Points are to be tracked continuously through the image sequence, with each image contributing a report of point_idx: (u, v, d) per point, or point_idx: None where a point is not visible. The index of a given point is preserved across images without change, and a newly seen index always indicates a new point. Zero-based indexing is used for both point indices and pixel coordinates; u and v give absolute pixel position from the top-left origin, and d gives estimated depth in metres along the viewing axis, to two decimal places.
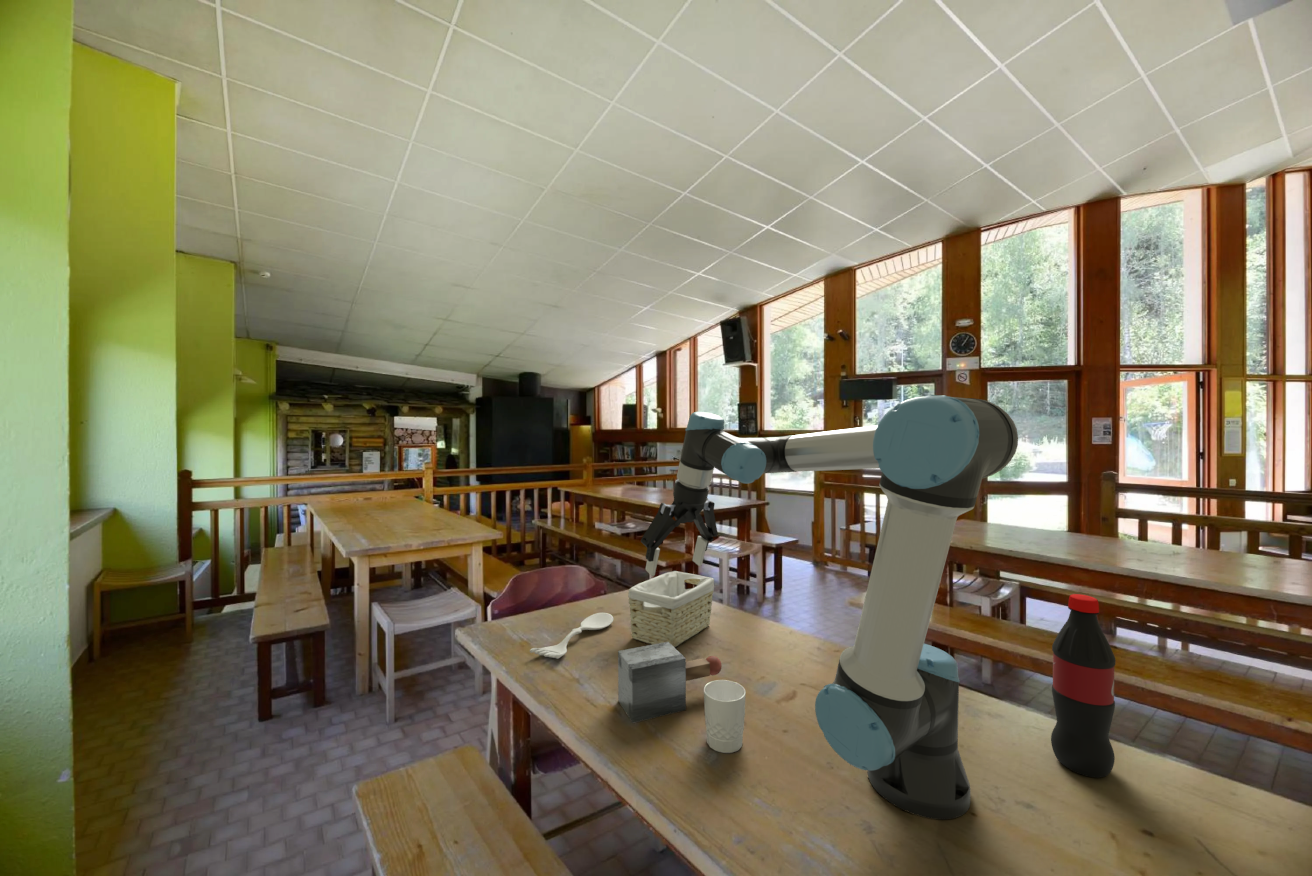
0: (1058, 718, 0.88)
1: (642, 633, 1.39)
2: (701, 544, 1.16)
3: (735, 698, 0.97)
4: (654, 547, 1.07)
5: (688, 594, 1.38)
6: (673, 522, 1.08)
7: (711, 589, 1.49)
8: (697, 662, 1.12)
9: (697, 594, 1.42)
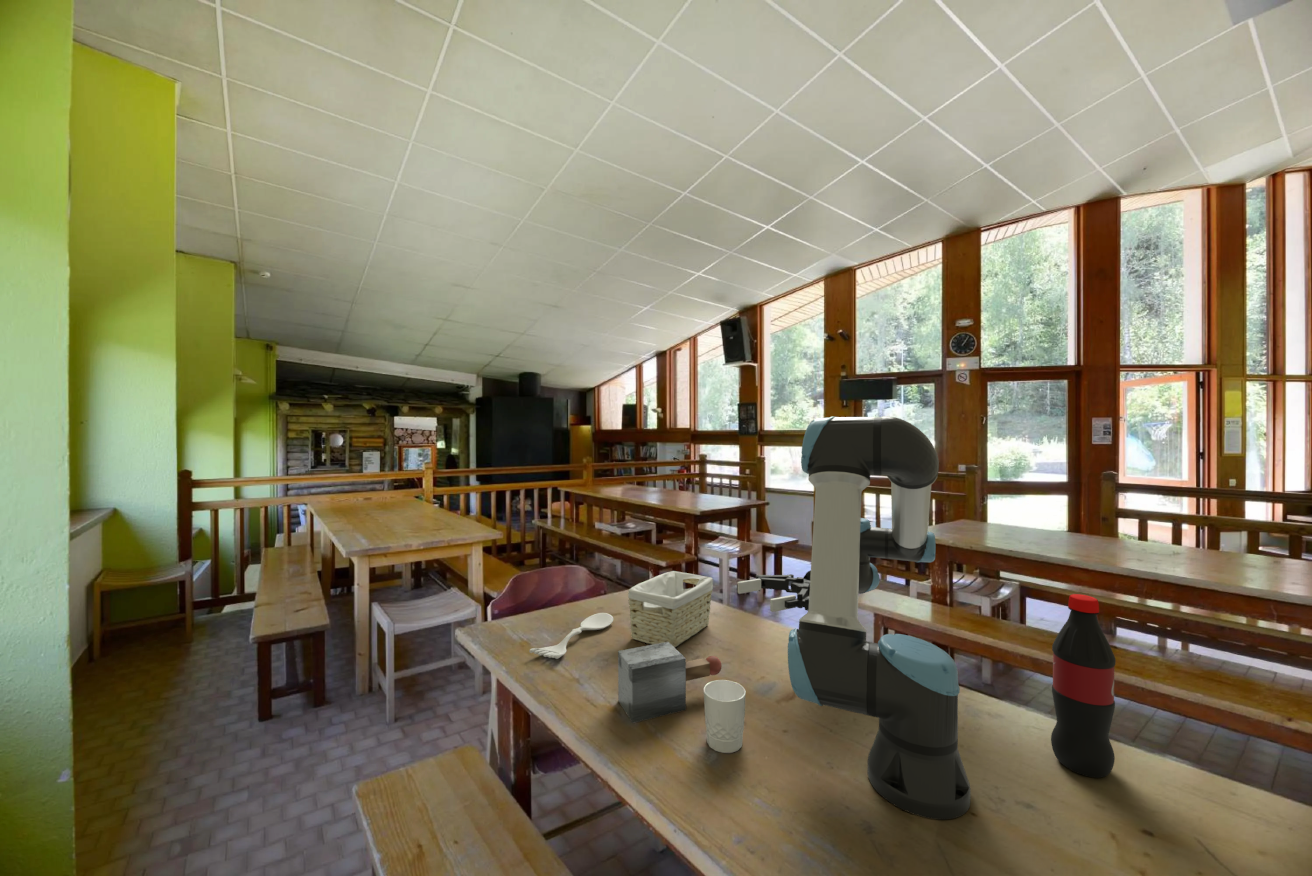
0: (1058, 718, 0.88)
1: (642, 633, 1.39)
2: None
3: (735, 698, 0.97)
4: (759, 577, 1.27)
5: (688, 594, 1.38)
6: None
7: (710, 589, 1.49)
8: (697, 662, 1.12)
9: (697, 594, 1.42)
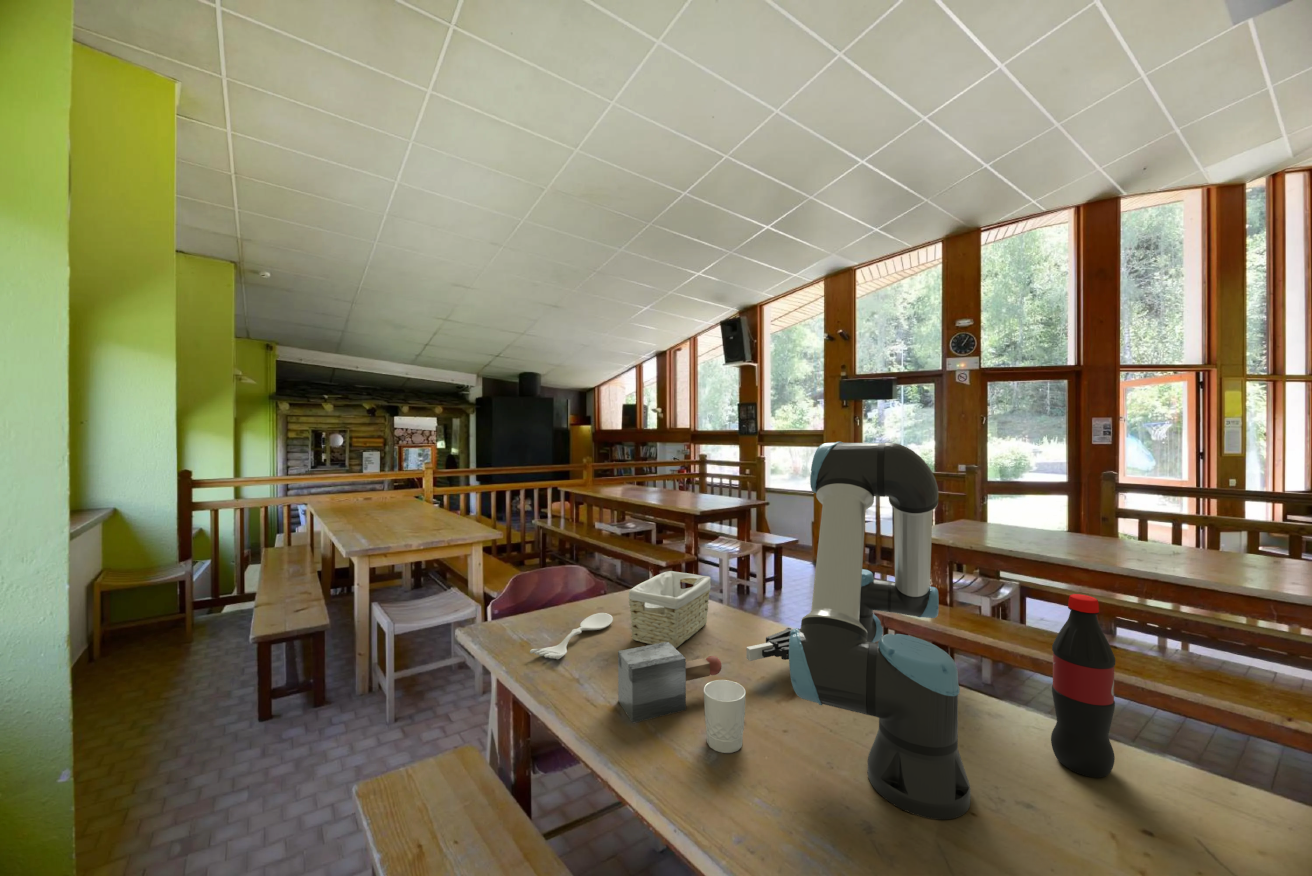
0: (1058, 718, 0.88)
1: (643, 634, 1.38)
2: None
3: (735, 698, 0.97)
4: (769, 641, 1.21)
5: (690, 594, 1.38)
6: None
7: (708, 588, 1.50)
8: (697, 662, 1.12)
9: (697, 593, 1.43)
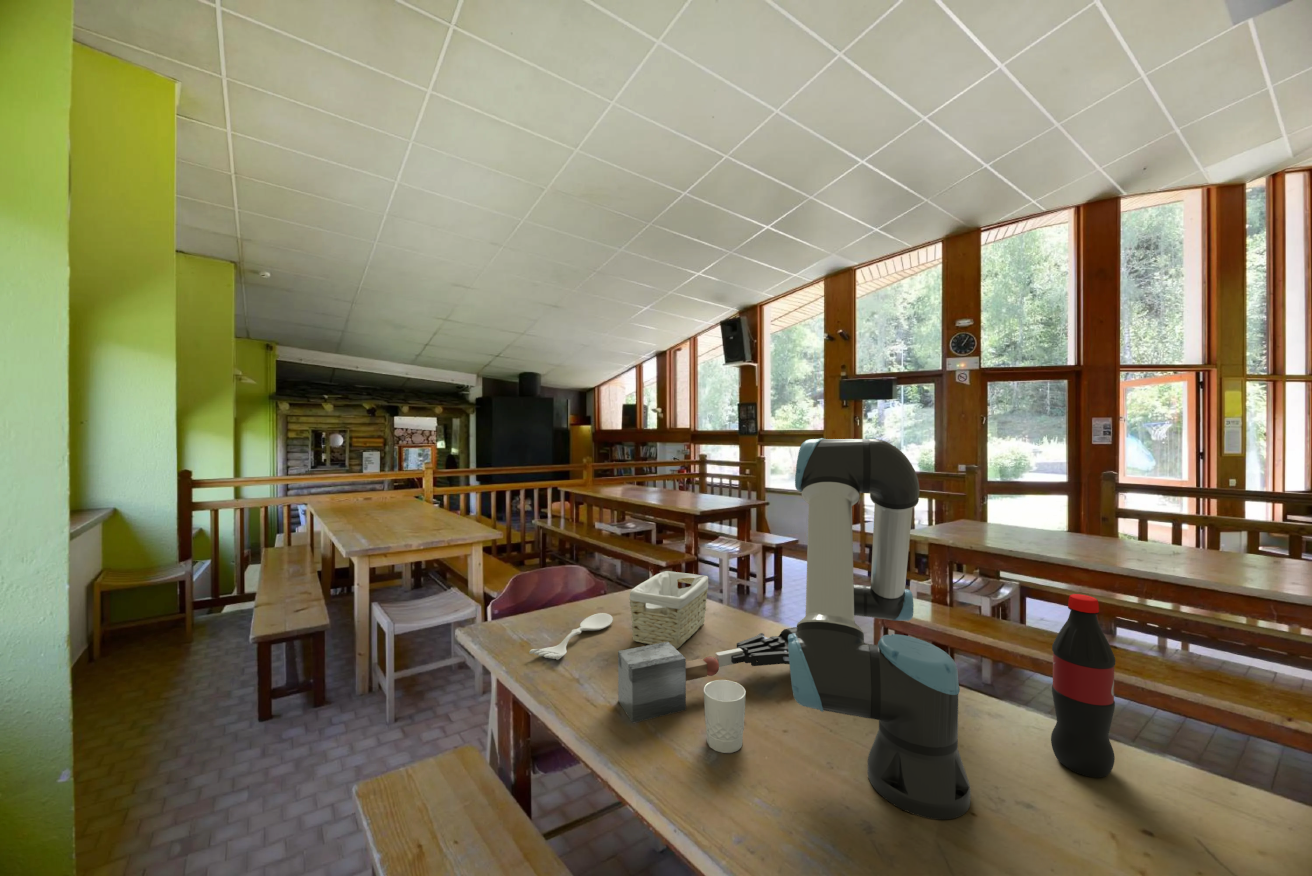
0: (1058, 718, 0.88)
1: (645, 635, 1.37)
2: None
3: (735, 698, 0.97)
4: (739, 646, 1.18)
5: (691, 593, 1.38)
6: None
7: (706, 587, 1.51)
8: (694, 663, 1.11)
9: (697, 593, 1.43)
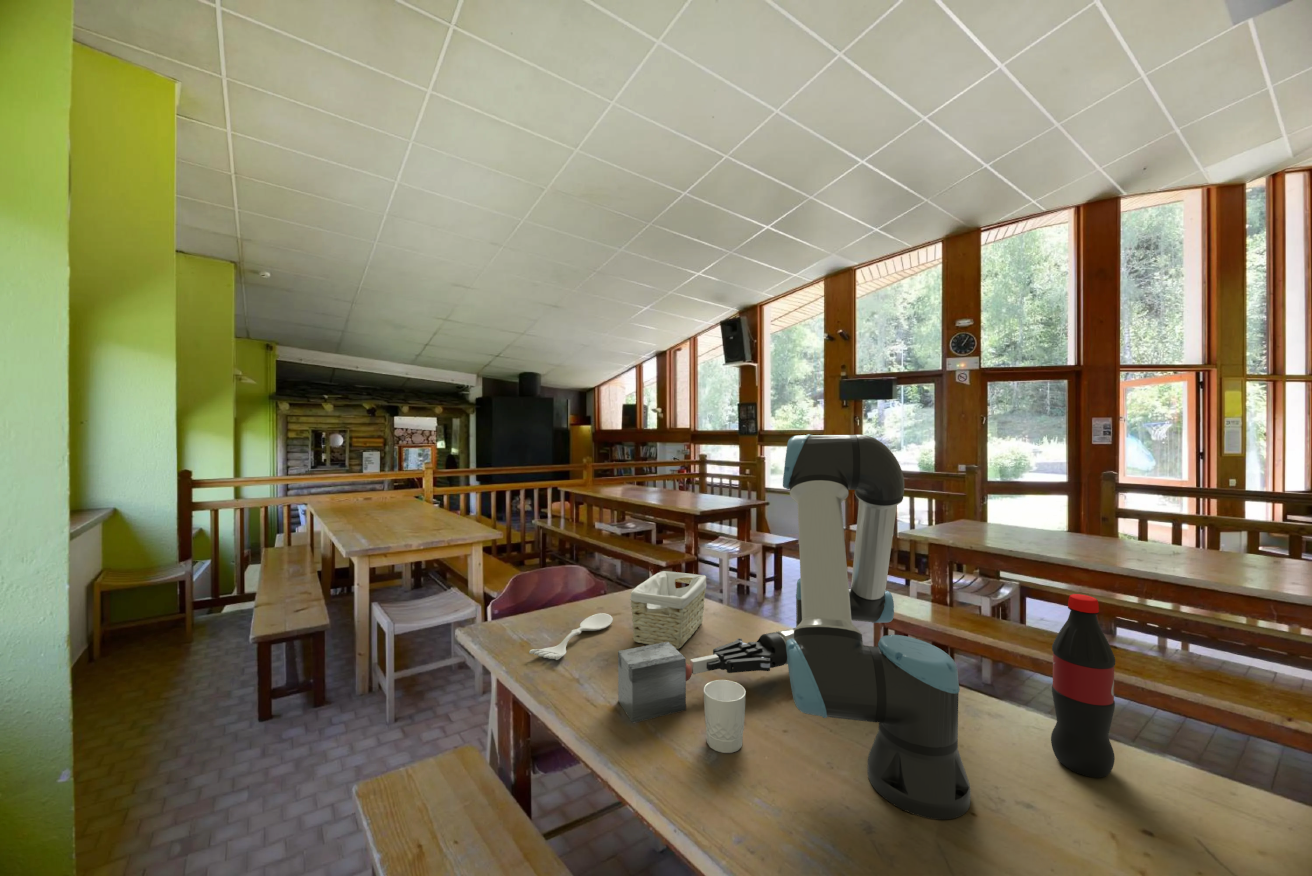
0: (1058, 718, 0.88)
1: (646, 636, 1.37)
2: None
3: (735, 698, 0.97)
4: (716, 653, 1.15)
5: (692, 593, 1.39)
6: None
7: (705, 586, 1.51)
8: None
9: (697, 592, 1.44)
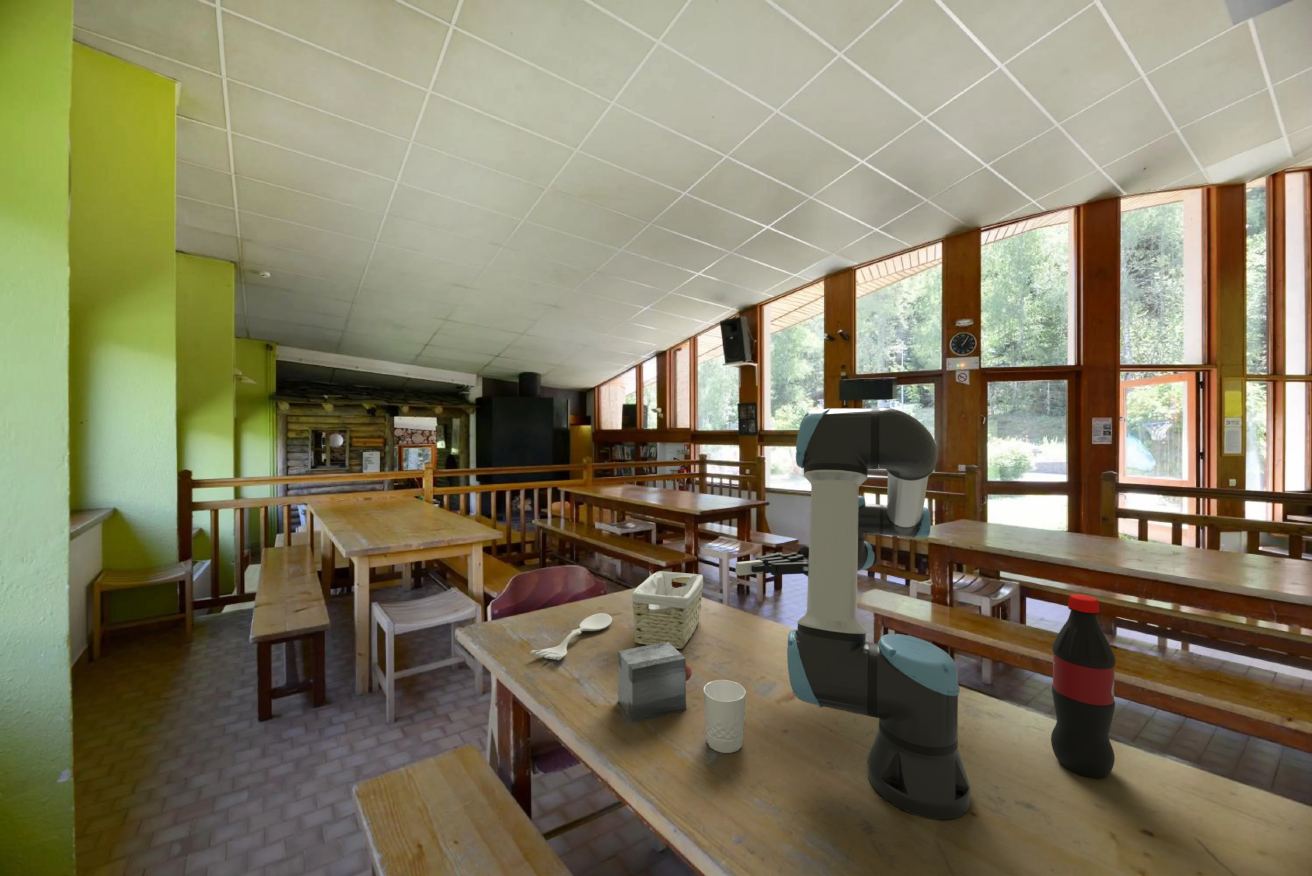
0: (1058, 718, 0.88)
1: (648, 636, 1.36)
2: None
3: (735, 698, 0.97)
4: (759, 559, 1.19)
5: (693, 592, 1.39)
6: None
7: (702, 585, 1.52)
8: None
9: (696, 592, 1.44)
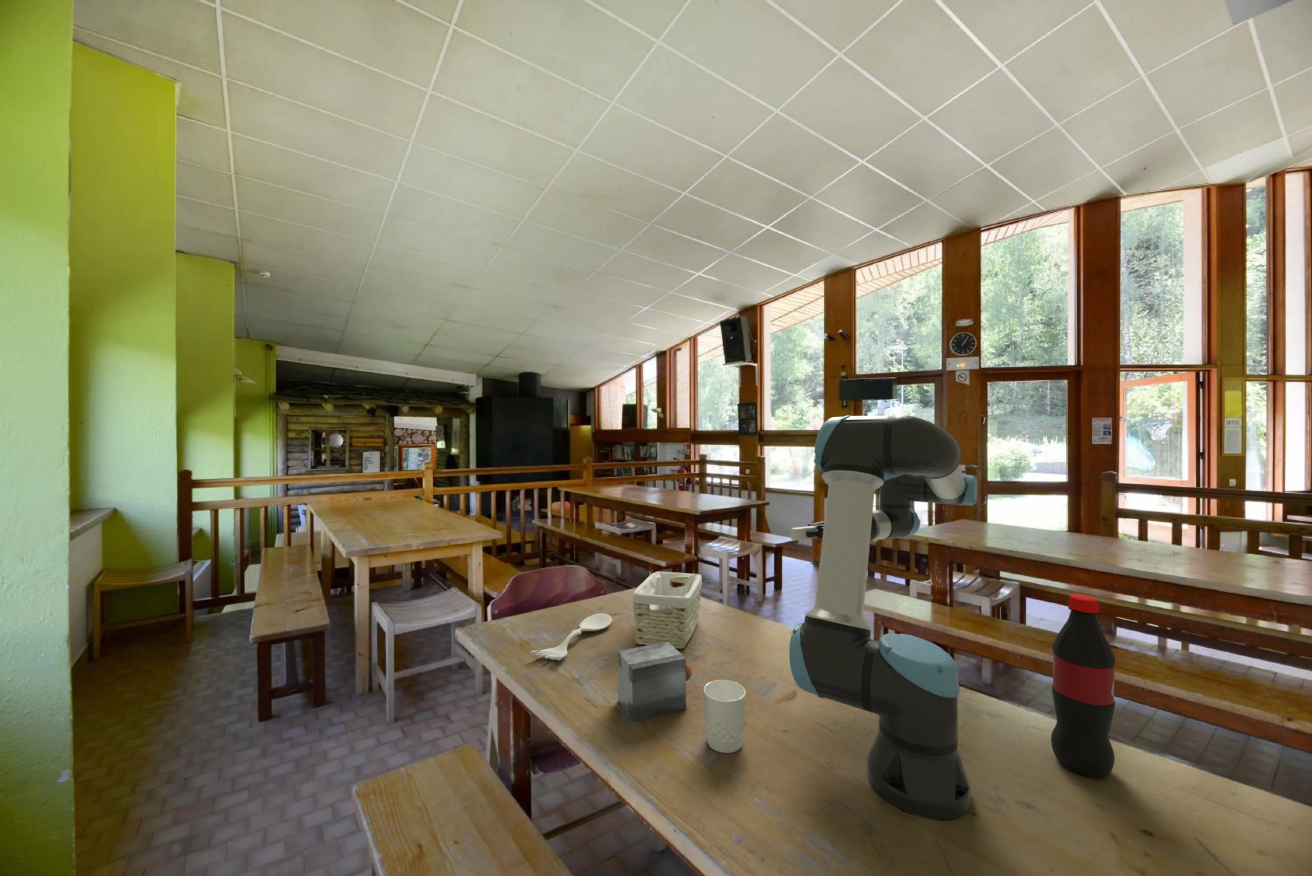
0: (1058, 718, 0.88)
1: (649, 637, 1.36)
2: None
3: (735, 698, 0.97)
4: (812, 525, 1.24)
5: (693, 592, 1.39)
6: None
7: (701, 585, 1.53)
8: None
9: (696, 591, 1.45)
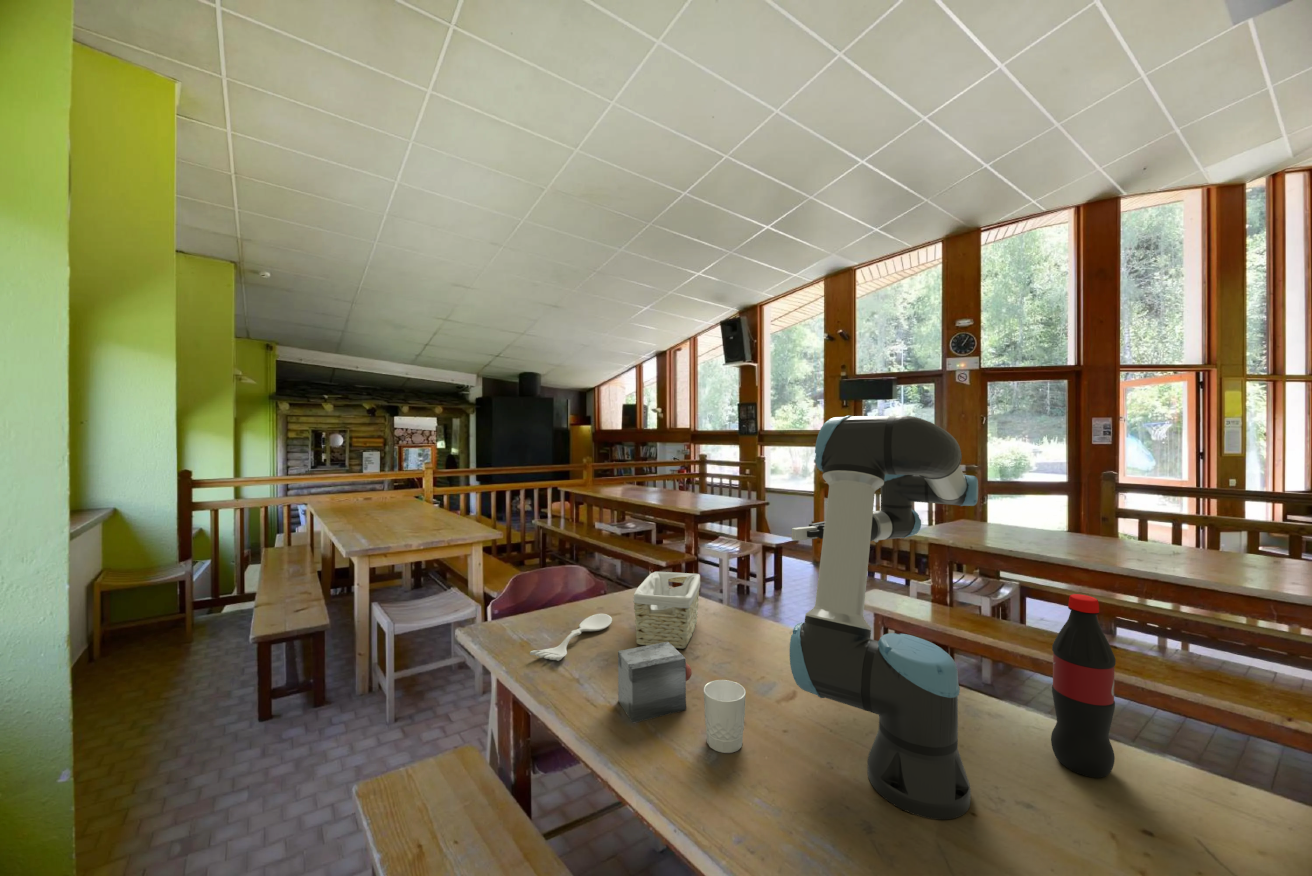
0: (1058, 718, 0.88)
1: (650, 637, 1.36)
2: None
3: (735, 698, 0.97)
4: (812, 525, 1.24)
5: (694, 592, 1.40)
6: None
7: (699, 585, 1.53)
8: None
9: (696, 591, 1.45)
